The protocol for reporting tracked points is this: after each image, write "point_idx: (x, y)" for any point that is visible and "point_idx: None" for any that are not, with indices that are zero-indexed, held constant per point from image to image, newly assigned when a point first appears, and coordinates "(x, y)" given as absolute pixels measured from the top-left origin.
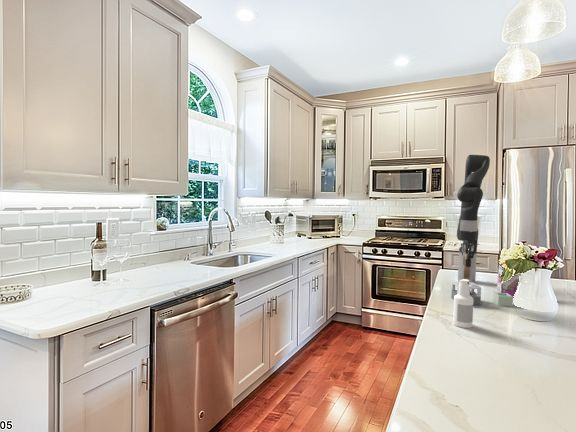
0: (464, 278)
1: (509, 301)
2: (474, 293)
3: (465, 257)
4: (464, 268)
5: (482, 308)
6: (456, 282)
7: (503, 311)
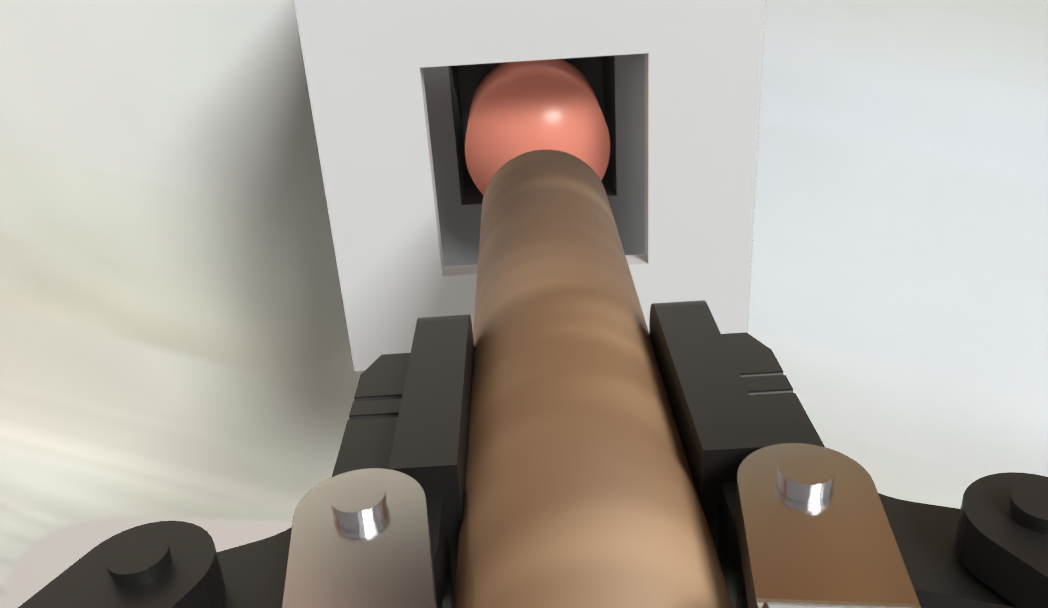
0: (506, 168)
1: None
2: None
3: (505, 496)
4: (527, 258)
5: (252, 238)
6: (684, 8)
7: (223, 434)
